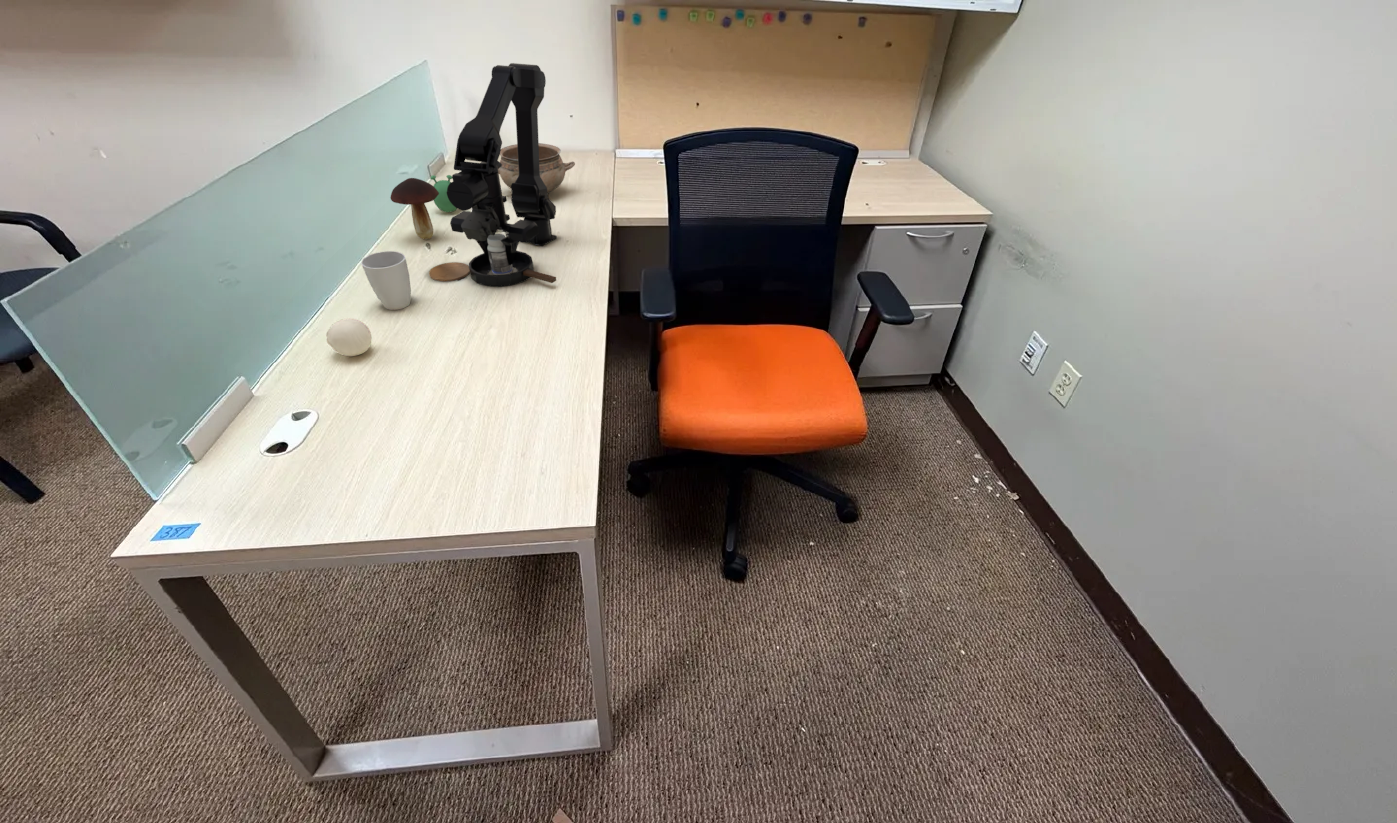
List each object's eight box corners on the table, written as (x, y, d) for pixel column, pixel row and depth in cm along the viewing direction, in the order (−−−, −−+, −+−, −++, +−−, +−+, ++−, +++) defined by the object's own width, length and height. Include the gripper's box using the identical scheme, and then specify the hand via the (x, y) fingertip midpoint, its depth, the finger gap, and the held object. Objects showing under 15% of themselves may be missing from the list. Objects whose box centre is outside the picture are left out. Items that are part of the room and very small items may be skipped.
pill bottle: (494, 267, 140) (487, 232, 135) (514, 266, 141) (508, 232, 135) (490, 276, 136) (483, 241, 131) (511, 276, 137) (505, 240, 132)
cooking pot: (575, 182, 190) (572, 141, 183) (579, 202, 176) (575, 159, 168) (494, 184, 186) (487, 143, 178) (491, 206, 171) (483, 162, 164)
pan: (500, 255, 146) (498, 245, 144) (573, 275, 139) (572, 265, 137) (457, 277, 136) (455, 266, 134) (535, 300, 129) (533, 289, 127)
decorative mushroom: (434, 249, 148) (418, 187, 138) (394, 244, 149) (375, 182, 140) (457, 232, 156) (443, 173, 147) (418, 228, 158) (403, 169, 148)
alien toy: (462, 205, 171) (454, 169, 165) (463, 214, 166) (455, 178, 159) (436, 207, 169) (427, 171, 163) (436, 217, 164) (426, 179, 158)
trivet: (450, 261, 143) (449, 259, 142) (479, 269, 140) (478, 267, 139) (420, 275, 136) (420, 273, 136) (450, 284, 133) (449, 282, 133)
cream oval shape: (344, 342, 114) (331, 311, 110) (382, 343, 114) (371, 312, 109) (325, 361, 108) (312, 329, 104) (365, 363, 108) (353, 331, 104)
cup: (426, 299, 128) (413, 254, 122) (399, 316, 122) (385, 271, 115) (395, 292, 130) (381, 248, 123) (367, 309, 124) (351, 263, 117)
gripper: (426, 200, 123) (444, 270, 133) (507, 213, 119) (519, 284, 129) (458, 184, 132) (473, 251, 141) (534, 195, 128) (544, 263, 138)
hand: (501, 262), depth 137 cm, fingers closed on pill bottle, 5 cm apart
